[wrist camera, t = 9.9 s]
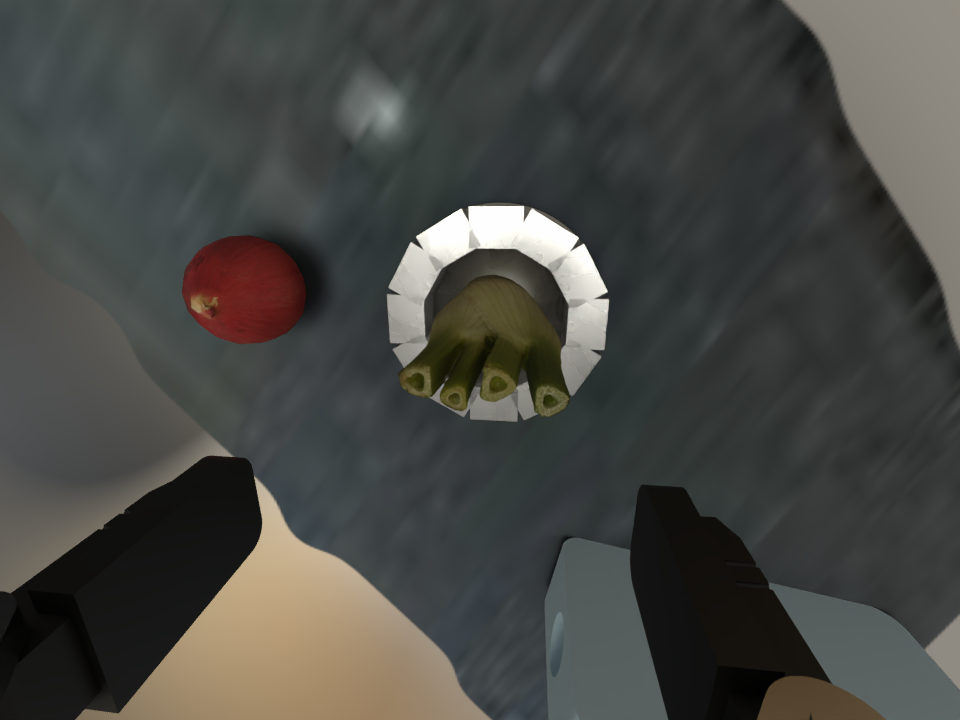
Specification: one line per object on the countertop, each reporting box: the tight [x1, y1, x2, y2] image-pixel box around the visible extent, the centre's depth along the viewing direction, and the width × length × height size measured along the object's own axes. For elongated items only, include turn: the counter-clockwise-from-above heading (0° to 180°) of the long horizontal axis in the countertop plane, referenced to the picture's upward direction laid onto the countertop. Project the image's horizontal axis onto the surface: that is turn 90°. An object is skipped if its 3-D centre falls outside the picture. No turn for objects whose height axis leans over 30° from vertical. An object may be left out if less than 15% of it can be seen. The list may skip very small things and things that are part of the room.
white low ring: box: [387, 203, 609, 422], centre depth 25 cm, size 12×12×4 cm
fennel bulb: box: [398, 275, 570, 417], centre depth 20 cm, size 6×5×12 cm
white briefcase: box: [545, 538, 960, 720], centre depth 26 cm, size 23×6×13 cm, turn 79°
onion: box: [182, 236, 307, 344], centre depth 24 cm, size 6×6×8 cm
